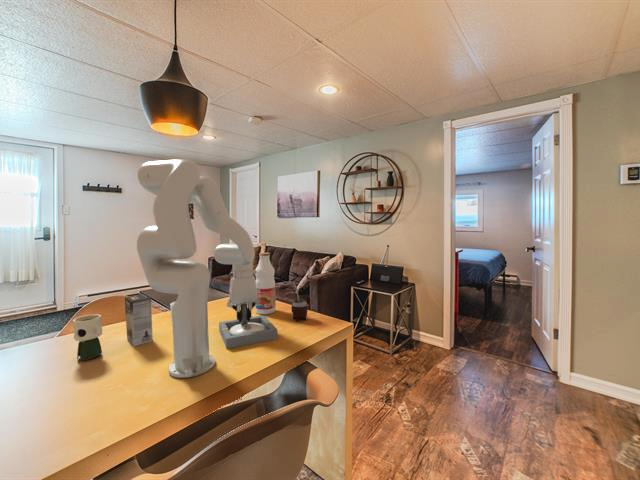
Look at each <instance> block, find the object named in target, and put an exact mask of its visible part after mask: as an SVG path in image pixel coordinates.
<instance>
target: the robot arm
mask: <svg viewBox="0 0 640 480" xmlns="http://www.w3.org/2000/svg"><path fill="white" fill-rule="evenodd" d="M137 179H138V183H139V184H140V185H141V186H142V188H143V189H144V190H145V191H147V192H149V193H151V194H153V195H156V197H155V199H154V202H153V205H152V206H153V207H152V212H153V217H154V221H155V225H151V226H147V227H145V228H143V229H142V230H141V231H140V233H139V234H138V236H137V239H136V250H137V254H138V257H139V261H140V263H141V267H142V269H143V272H144V275H145V278H146V281H147V283H148V285H149V287H150V288H151V289H152V290H154V291H155V292H157V293H164V294H165V293H166V294H176V295H178V296H177V298H176V300H175V301H174V302H175V303H174V305H173V309H172V318H171V323H173V326H172V339H173V343H172V344H173V361H172V362H171V364H169V366H168V374H169V376H171V377H174V378H178V379H179V378H180V379H181V378H182V379H184V378H191V377H197V376H200V375H203V374H205V373H207V372H208V371H210V370H211V369H212V368H214V366H215V363H216V358H215V357H214V356H213V355H211V354H210V344H209V342H210V341H209V340H210V339H209V317H208V316H209V314H208V298H209V296H208V294H209V288H210V282H211V272H210V269H209V268H208V266H206V265H205V264H204V263H201V262H199V261H193V260H187V259H190V258H192V257H193V256H194V255H195V254H196V252H197V240H196V236H195V231H194V228H193V223H192V220H191V219H192V218H191V216H190V215H191V214H190V211H189V210H190V209H189V204H193V205H194V206H195V208H196V210H197V213H198V215H199V217H200V219H201V221H202V223H203V225H204V227H205V228H206V229H208V230H210V231H212V232H213V233H216V234H218V235H222V236H224V237H225V238H227V239H229V240H231V241H232V242H233V243H221V244H219V245H217V246H216V248H215V249H214V251H213V258H214V259H215V261H216V262H217V263H218V264H220V265H232V277H231V278H230V280H229V292H228V293H229V298H228V301H227V303H226V307H228V308H231V309H233V310H234V311H236V320H239V322H242V314H241V309H240V304H245V303H247V314H248V321H250V318H251V317H252V311H253V309H254V307H255V305H256V304H258V303H259V302H260V300H259V298H258V296H257V288H256V276H254V275H255V274H256V273H257V271H256V270H255V269H254V268H253V266H254V265H253V263H254V260H255V255H256V251H255V247H254V244H253V242H252V239H251V238H252V237H251V235H250V233H248V231H247V229H245V228H244V227H243V226H242V225H240V223H238V222H237V221H236V220H235V219H233V218H232V217H231V216H230V215H229V212H228V210H227V207H226V205H225V202H224V200H223V197H222V194H221V192H220V190H219V189H220V188H219V187H218V185H217V183H216V181H215V180H214V178H212V177H210V176H205V175H201V171H200V168H199V166H198V164H197V163H196V162H195V161H192V160H190V159H186V158H185V159H184V158H179V159H178V158H177V159H167V160H166V159H165V160H153V161H152V160H151V161H147V162H145V163H143V164H142V165H140V167H139V168H138V170H137Z"/></svg>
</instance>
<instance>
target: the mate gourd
mask: <svg viewBox="0 0 640 480" xmlns="http://www.w3.org/2000/svg"><path fill="white" fill-rule="evenodd" d="M292 284H293V286H294V288H295V291H296V296H297V300H293V302H292V304H291V307H290V308H291V313H292V316H293V317H292V319H293V320H295V321H296V323H299V321H307V316H308V311H309V310H308V303H307V301H305V300H304V299H300V296H299V292H298V291H299V290H298V288H297V286H296V284H295V283H294V282H293V283H292Z"/></svg>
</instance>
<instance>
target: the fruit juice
mask: <svg viewBox="0 0 640 480" xmlns="http://www.w3.org/2000/svg"><path fill="white" fill-rule="evenodd" d="M258 255H259V260H258V263H257V265H256V268H255V269H254V270H256V271H257V273H256V274H254V275H255V281H256V288H257V296H258V298H259V300H260V302H259V303H258V304H256V305H255V306H254V307H255V313H256V314H259V315H271V314H274V313H275V312H276V310H277V309H276V308H277V306H276V305H277V304H276V303H277V302H276V281H275V273H276V272H275V268H274V267H273V265H272V262H271V260H270V257H271V256H270V255H271V254H270V252H268V251H267V252H265V251H264V252H259V253H258Z"/></svg>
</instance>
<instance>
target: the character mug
mask: <svg viewBox="0 0 640 480" xmlns="http://www.w3.org/2000/svg"><path fill="white" fill-rule="evenodd" d="M102 324H103V323H102V315H101V314H98V313H96V314H95V313H94V314H85V315H82V316H78V317H76V318H74V319H73V320H72V328H73V331H74V334H73V339H74V341H76V342H77V341H78V345H77V354H76V357H77V358H76V359H77V360H79V361H88V360H92V359H94V358H96V357H98V356H100V355H101V354H102V353H103V351H102V345H101V341H100V339H99V338H100V336H102V334H103V325H102Z"/></svg>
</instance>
